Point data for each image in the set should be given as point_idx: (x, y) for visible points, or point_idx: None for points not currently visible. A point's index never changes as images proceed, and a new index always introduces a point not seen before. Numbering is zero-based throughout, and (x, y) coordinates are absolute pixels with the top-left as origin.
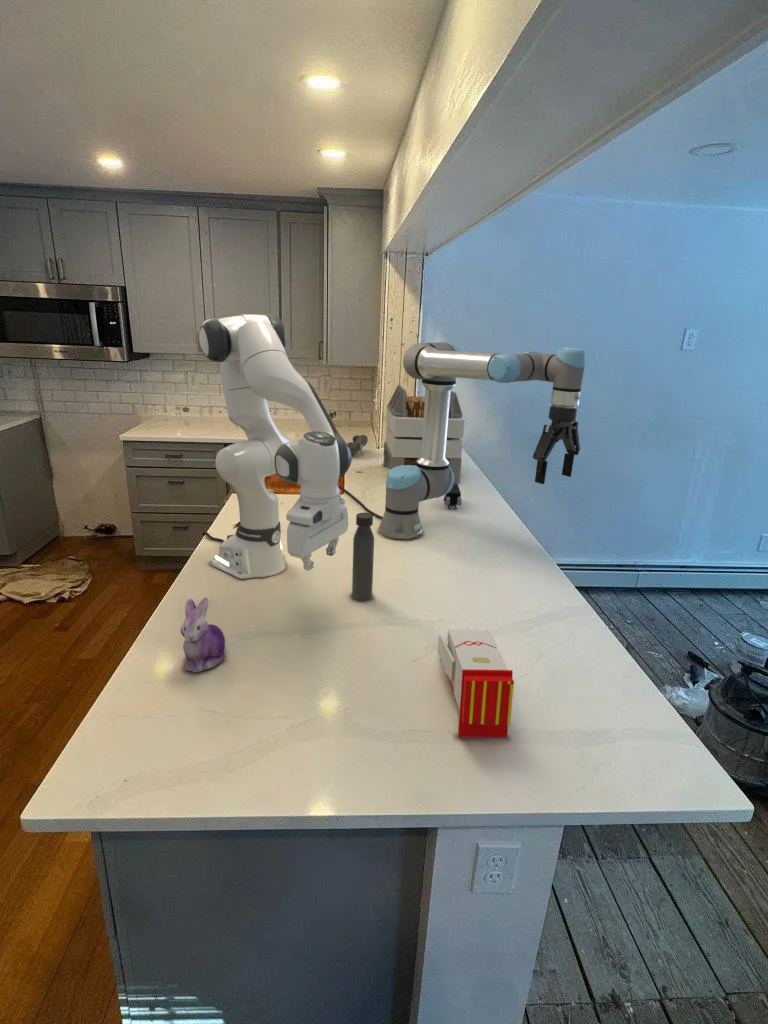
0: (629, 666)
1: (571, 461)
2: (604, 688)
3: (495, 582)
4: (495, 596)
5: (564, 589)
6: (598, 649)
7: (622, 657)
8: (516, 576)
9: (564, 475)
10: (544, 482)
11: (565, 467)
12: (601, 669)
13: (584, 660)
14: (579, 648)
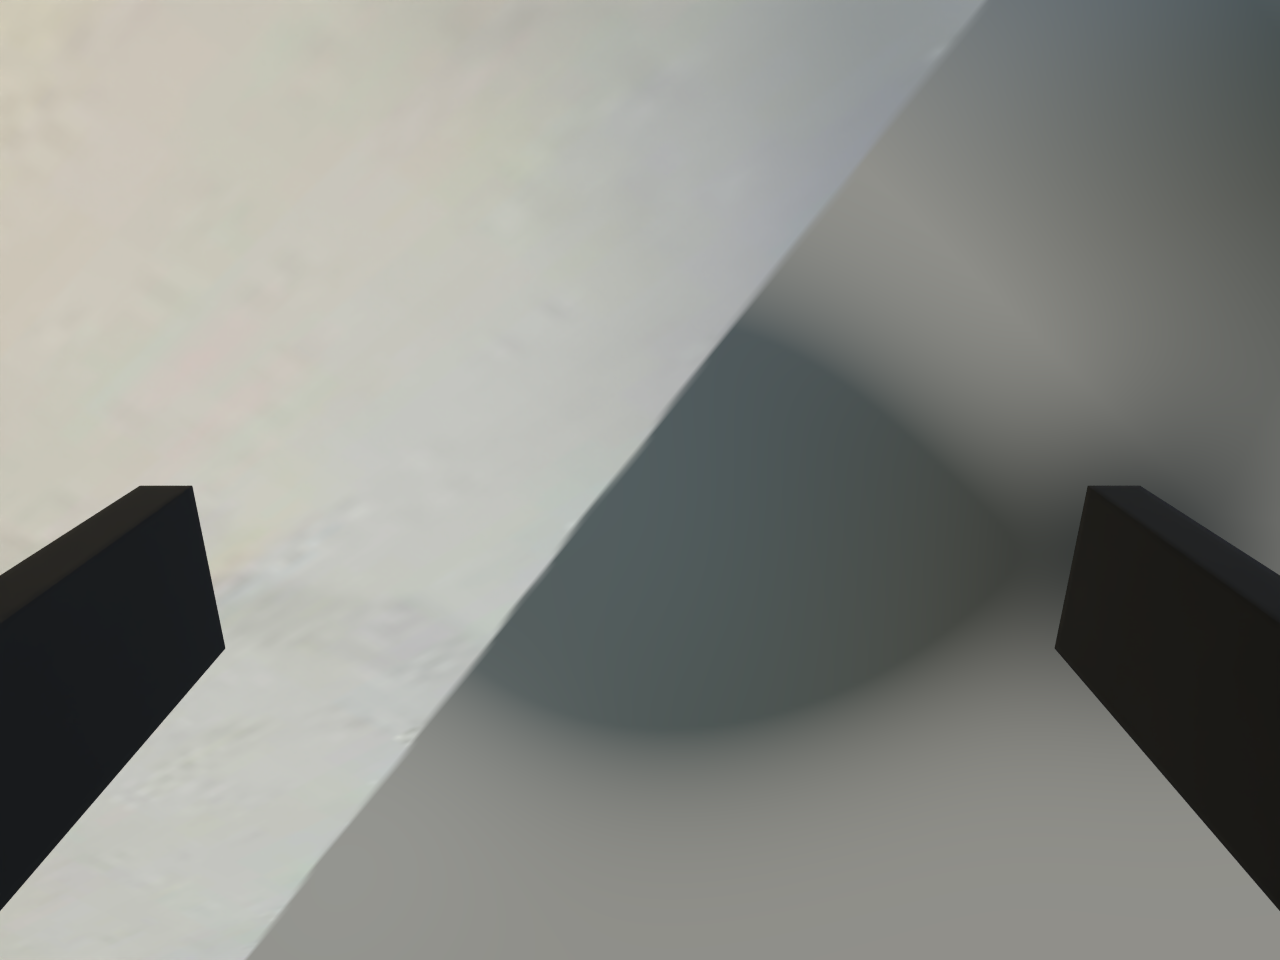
0: (263, 930)
1: (1271, 882)
2: (81, 937)
3: (287, 208)
4: (164, 326)
5: (574, 501)
6: (253, 834)
7: (289, 898)
8: (470, 235)
9: (1077, 546)
10: (212, 662)
11: (1177, 629)
12: (157, 891)
13: (144, 839)
14: (190, 795)
